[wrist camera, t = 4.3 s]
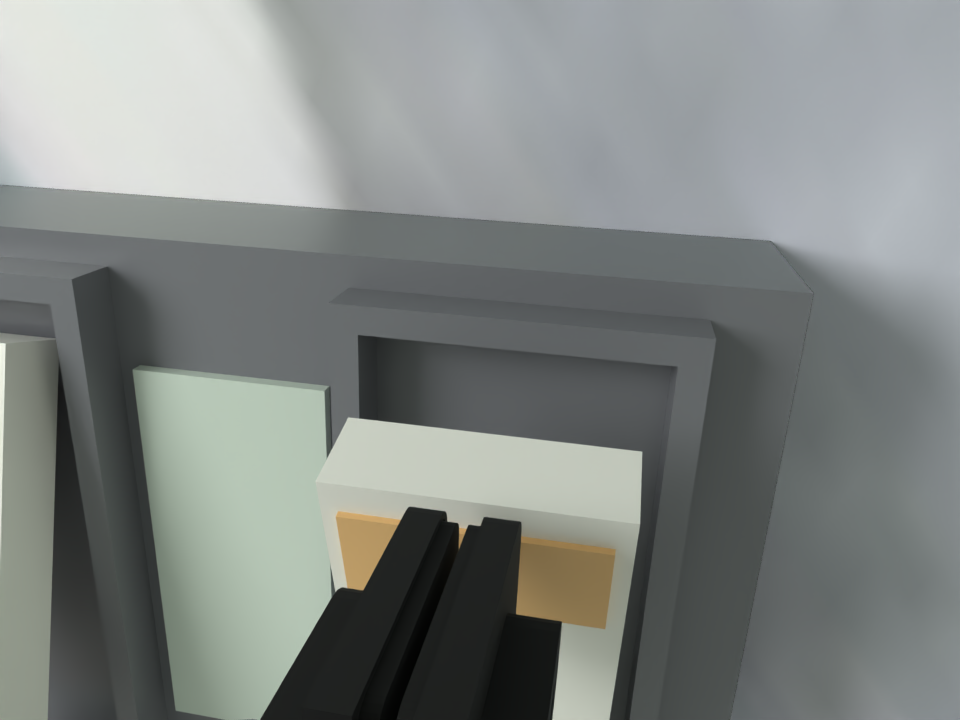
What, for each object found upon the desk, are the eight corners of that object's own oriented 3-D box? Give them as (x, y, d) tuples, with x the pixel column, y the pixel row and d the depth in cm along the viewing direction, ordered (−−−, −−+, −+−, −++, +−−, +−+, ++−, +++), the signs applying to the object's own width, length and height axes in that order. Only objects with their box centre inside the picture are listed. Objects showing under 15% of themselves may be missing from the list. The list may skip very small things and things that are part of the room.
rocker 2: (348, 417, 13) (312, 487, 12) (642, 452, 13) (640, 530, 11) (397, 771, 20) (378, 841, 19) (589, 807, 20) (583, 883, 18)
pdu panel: (-172, 172, 24) (-429, 203, 18) (770, 241, 19) (828, 311, 14) (-63, 605, 29) (-232, 735, 24) (685, 735, 25) (701, 932, 19)
